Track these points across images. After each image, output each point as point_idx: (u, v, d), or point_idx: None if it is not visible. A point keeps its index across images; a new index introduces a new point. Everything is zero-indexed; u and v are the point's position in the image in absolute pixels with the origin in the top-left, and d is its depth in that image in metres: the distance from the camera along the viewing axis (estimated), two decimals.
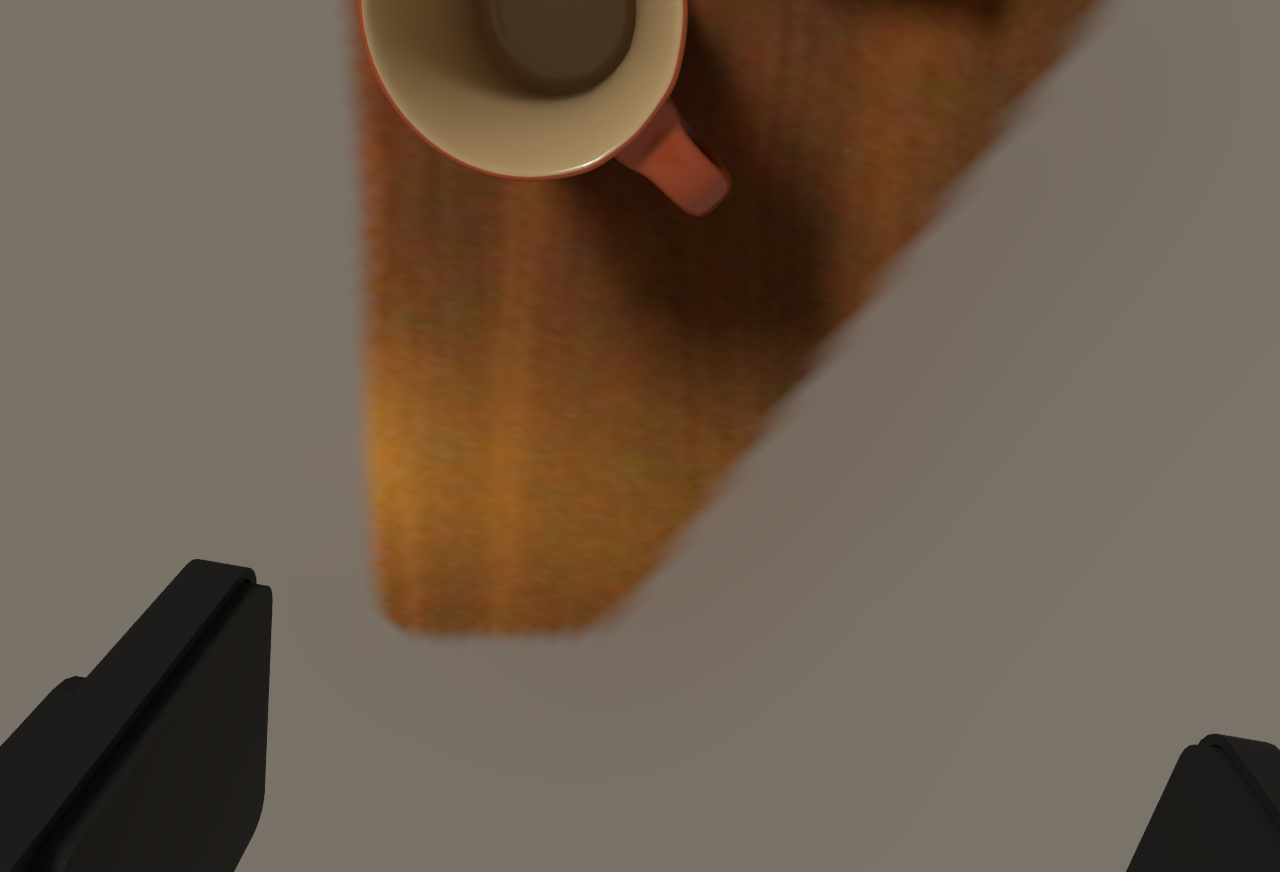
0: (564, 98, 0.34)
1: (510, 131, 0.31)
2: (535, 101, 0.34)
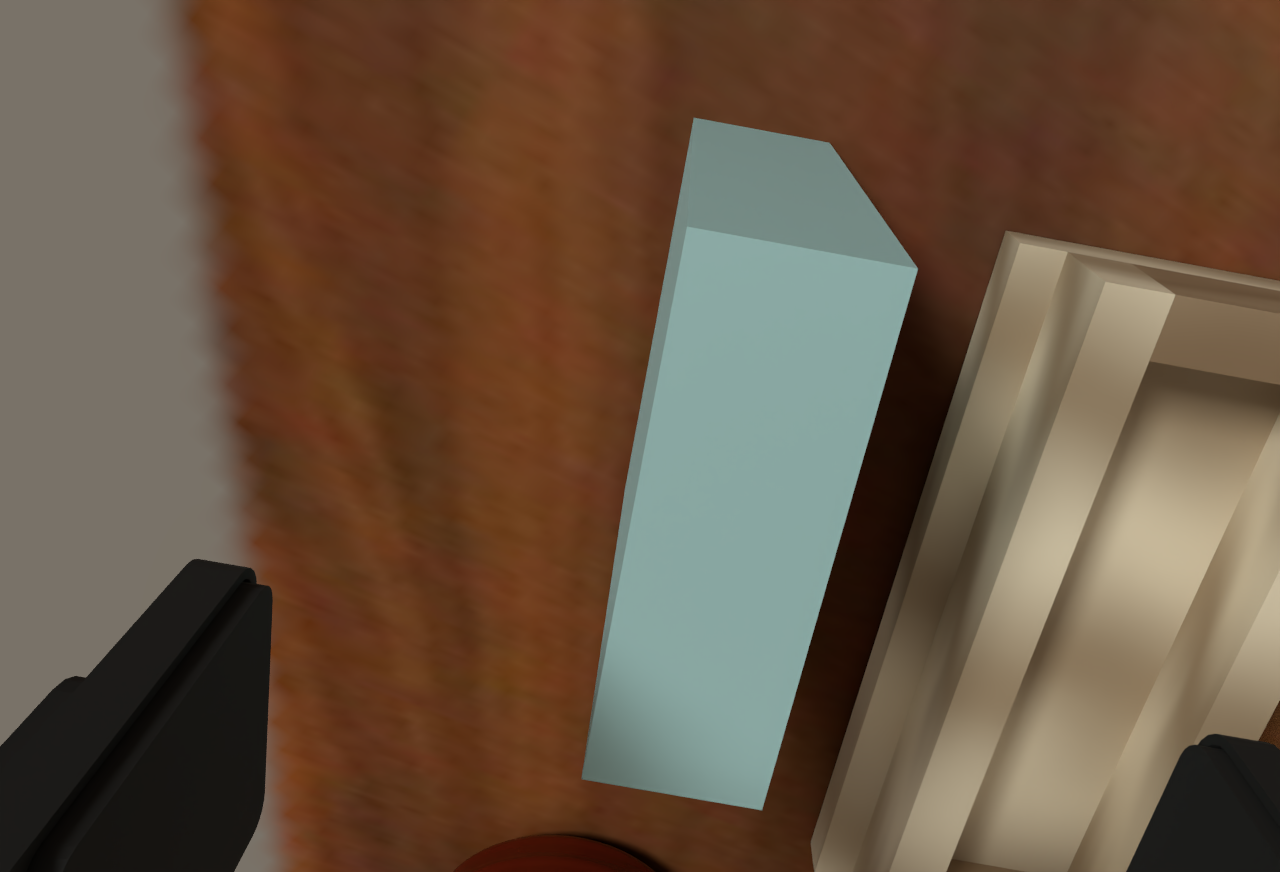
0: None
1: None
2: None
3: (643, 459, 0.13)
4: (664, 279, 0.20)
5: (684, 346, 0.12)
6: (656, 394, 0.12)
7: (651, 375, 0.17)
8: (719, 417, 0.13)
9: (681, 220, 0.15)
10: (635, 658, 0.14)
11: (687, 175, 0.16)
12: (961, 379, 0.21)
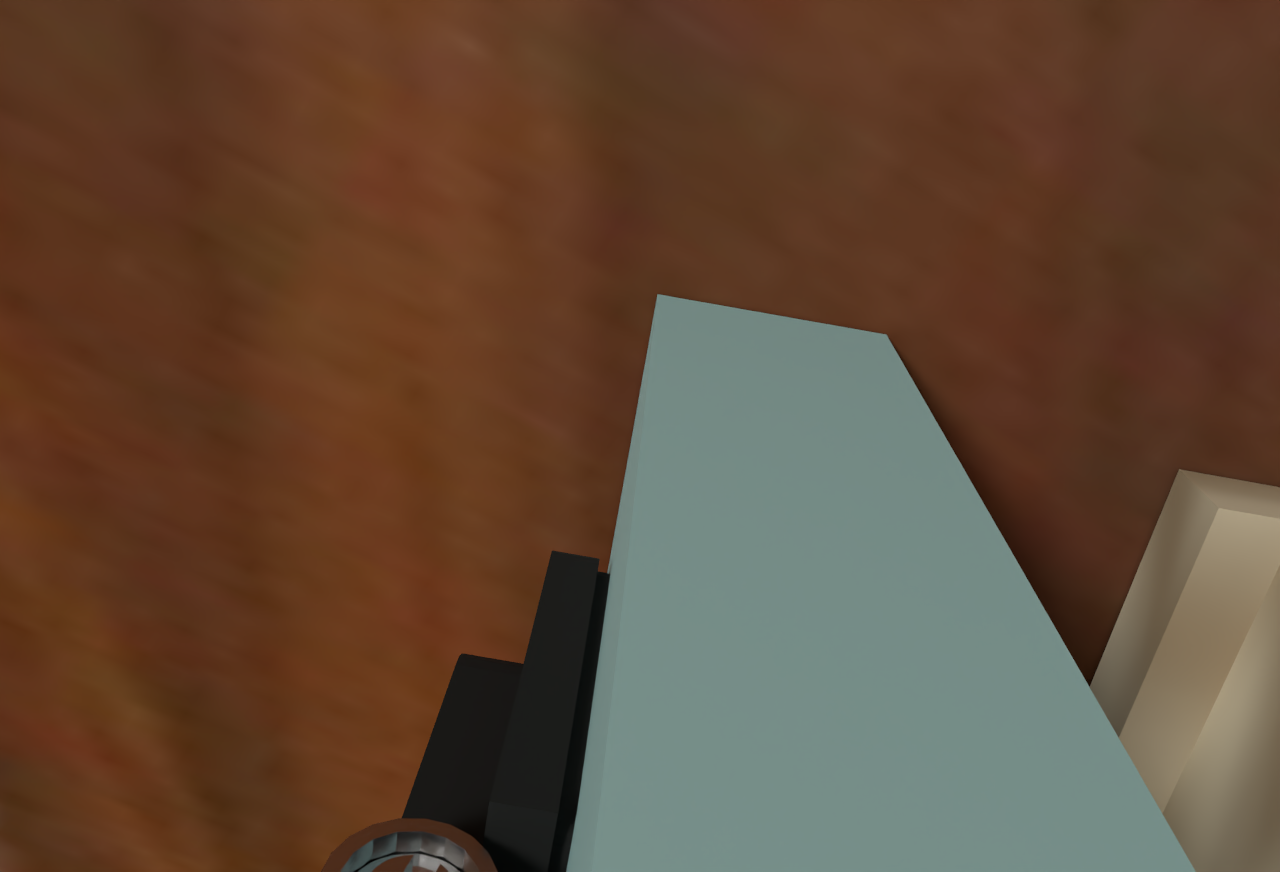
0: None
1: None
2: None
3: None
4: (611, 553, 0.12)
5: None
6: None
7: None
8: None
9: (613, 628, 0.07)
10: None
11: (634, 472, 0.08)
12: (1097, 692, 0.13)
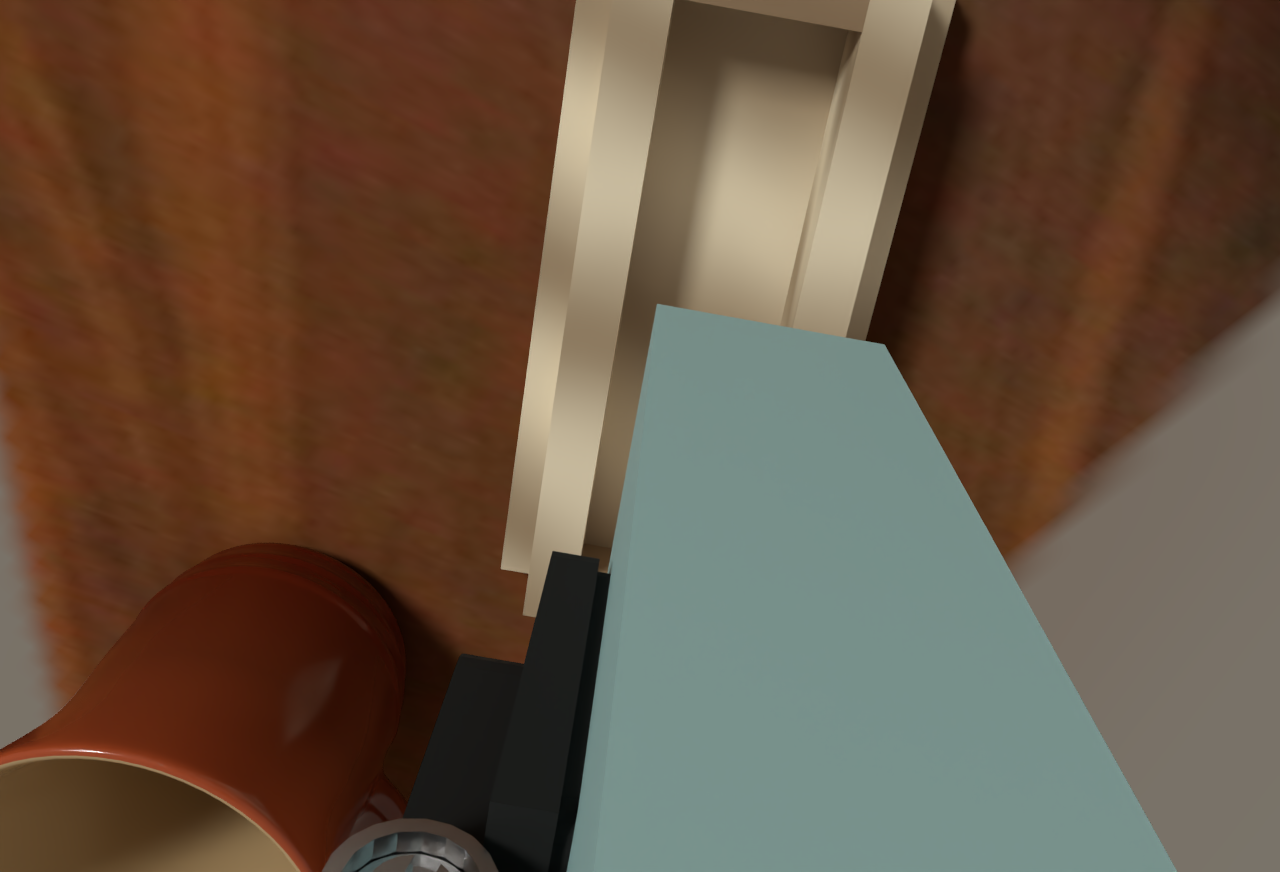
0: None
1: None
2: (224, 830, 0.27)
3: None
4: (610, 561, 0.12)
5: None
6: None
7: None
8: None
9: (612, 641, 0.07)
10: None
11: (633, 484, 0.08)
12: None
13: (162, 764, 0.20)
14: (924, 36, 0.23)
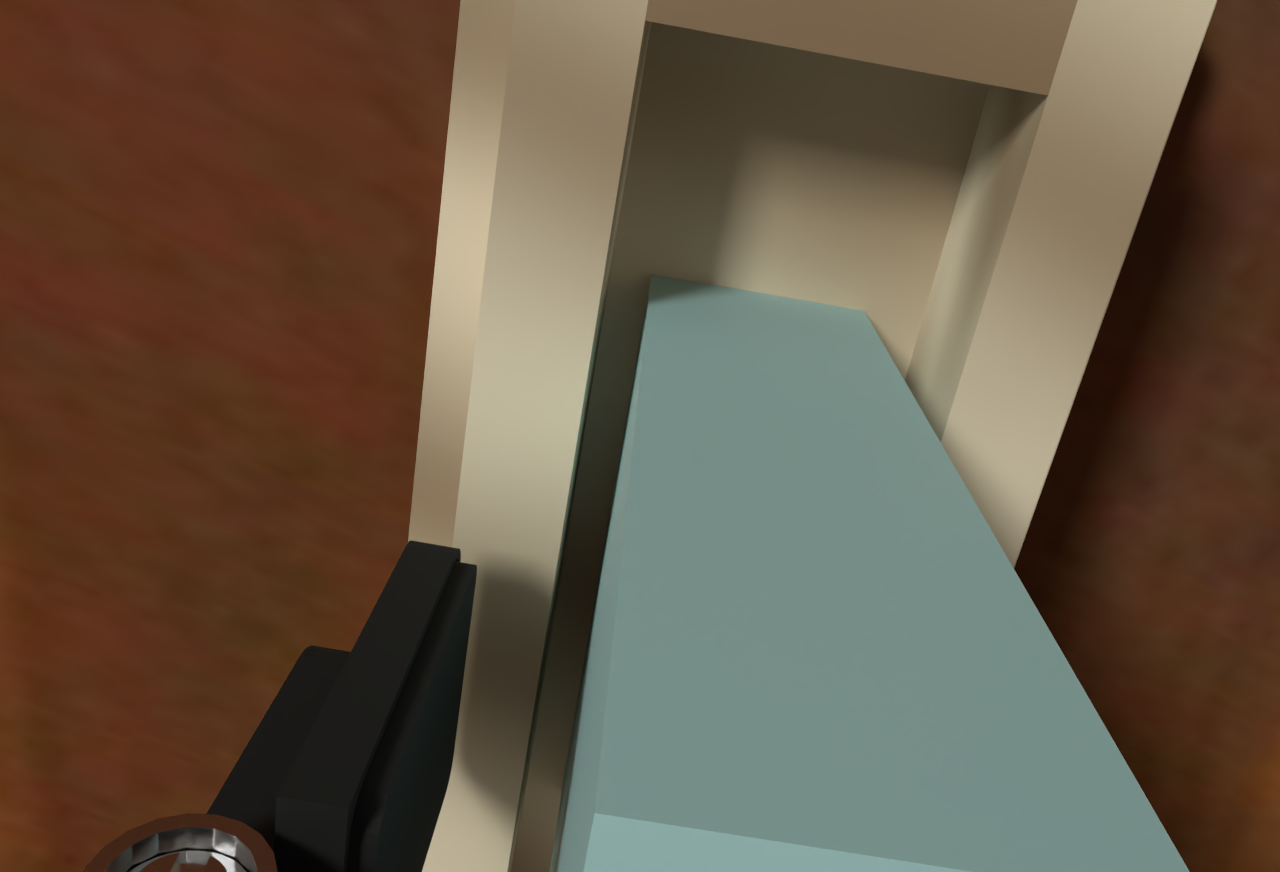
0: None
1: None
2: None
3: None
4: None
5: None
6: None
7: (572, 783, 0.09)
8: None
9: (615, 557, 0.08)
10: None
11: (632, 427, 0.09)
12: None
13: None
14: None
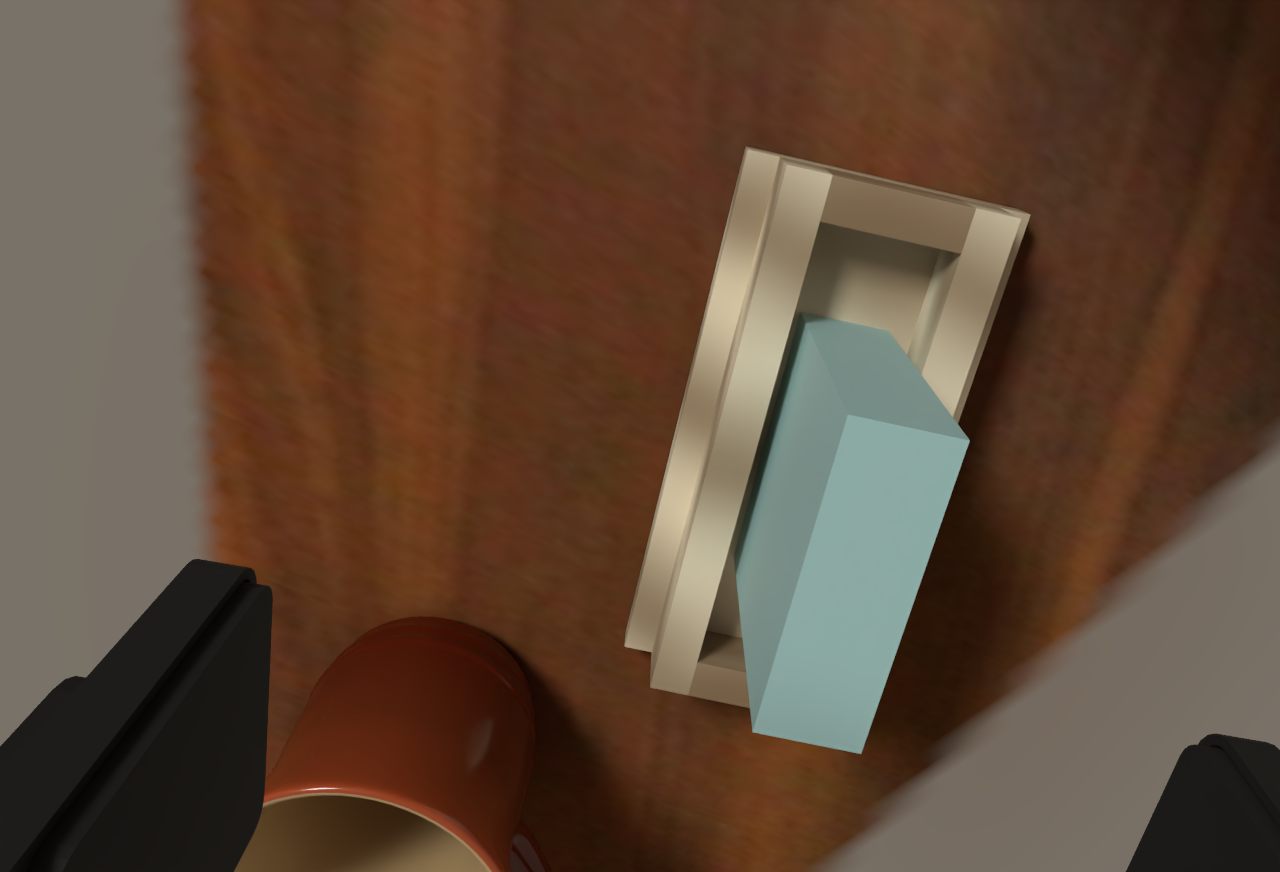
0: (422, 840, 0.33)
1: None
2: (388, 859, 0.33)
3: (811, 538, 0.23)
4: (775, 415, 0.31)
5: (841, 476, 0.22)
6: (822, 502, 0.22)
7: (788, 484, 0.26)
8: (857, 516, 0.22)
9: (819, 395, 0.25)
10: (794, 655, 0.24)
11: (814, 362, 0.26)
12: (719, 253, 0.30)
13: (407, 802, 0.25)
14: None
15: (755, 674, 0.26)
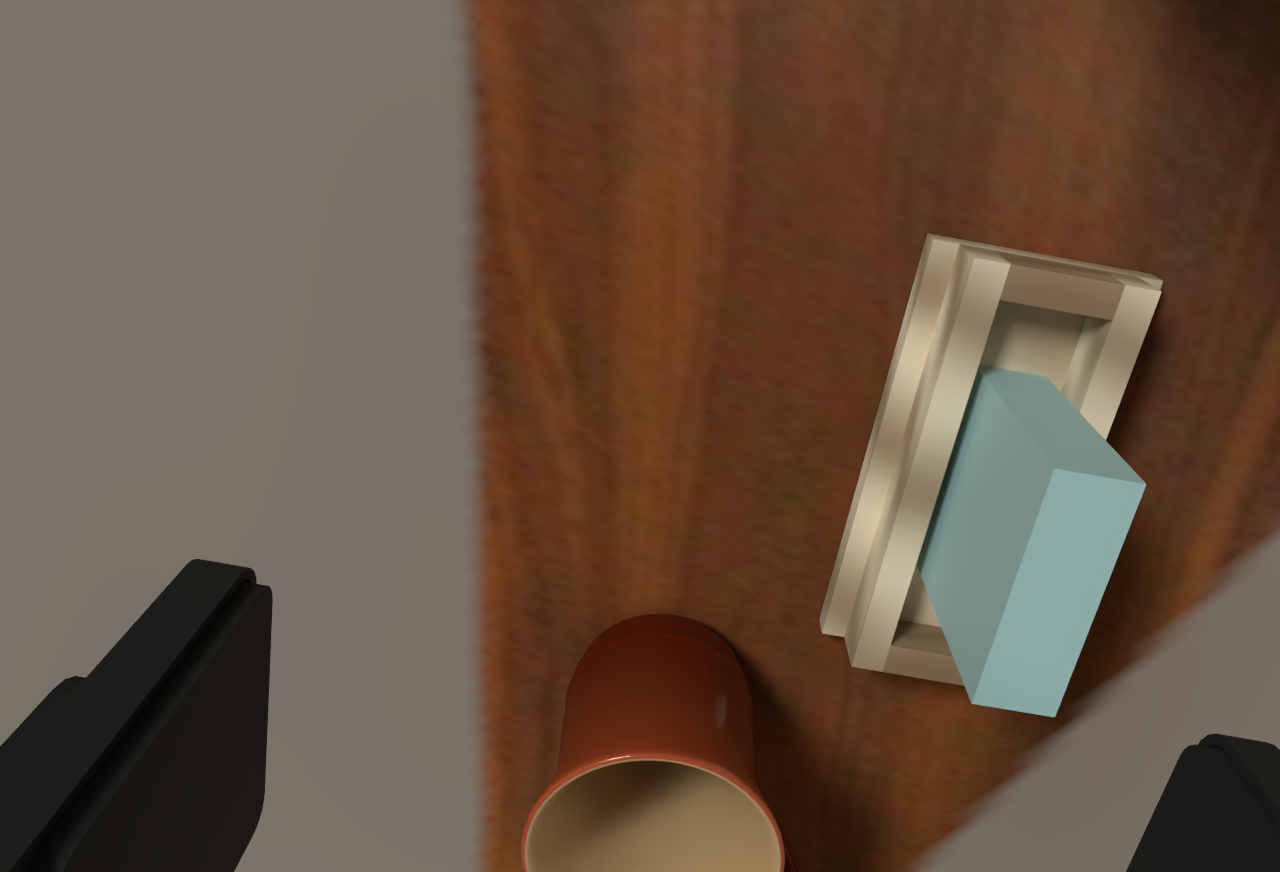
0: (666, 793, 0.42)
1: None
2: (644, 809, 0.41)
3: (1022, 559, 0.30)
4: (953, 446, 0.38)
5: (1047, 513, 0.30)
6: (1032, 533, 0.30)
7: (983, 510, 0.34)
8: (1058, 541, 0.30)
9: (1013, 443, 0.32)
10: (1006, 646, 0.31)
11: (1001, 413, 0.34)
12: (905, 318, 0.38)
13: (703, 764, 0.33)
14: None
15: (966, 658, 0.33)
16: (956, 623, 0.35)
